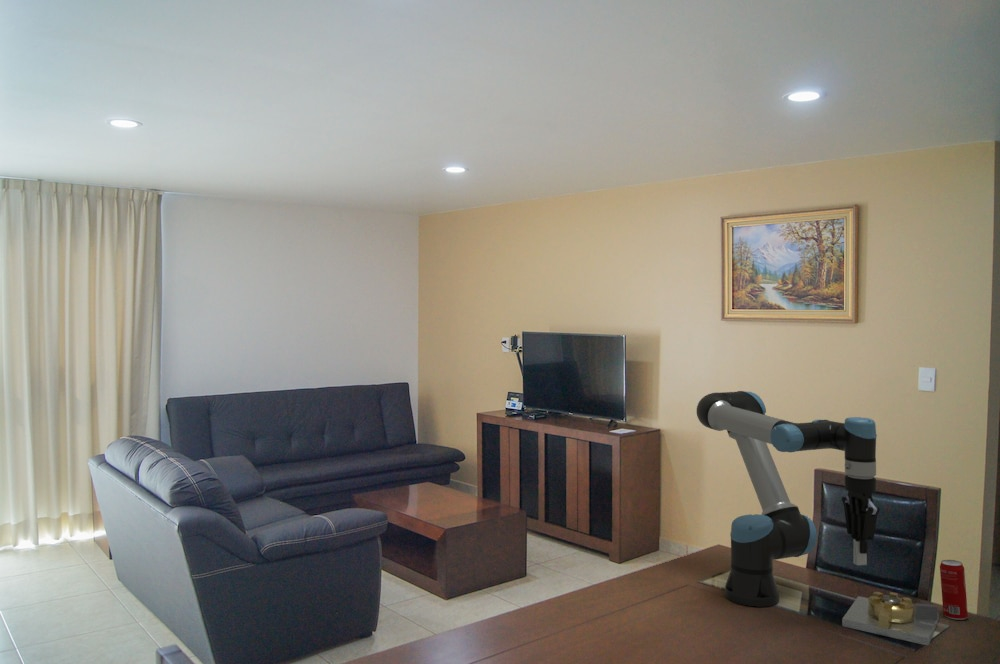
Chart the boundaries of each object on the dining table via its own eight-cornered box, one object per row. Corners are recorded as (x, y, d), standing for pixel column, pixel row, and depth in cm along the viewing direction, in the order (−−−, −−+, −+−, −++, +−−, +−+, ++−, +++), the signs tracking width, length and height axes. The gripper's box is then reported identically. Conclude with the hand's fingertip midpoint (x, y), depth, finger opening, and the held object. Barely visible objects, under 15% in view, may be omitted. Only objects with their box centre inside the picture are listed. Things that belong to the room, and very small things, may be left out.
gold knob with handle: (872, 603, 204) (872, 587, 204) (917, 612, 198) (917, 596, 198) (859, 622, 191) (859, 606, 191) (907, 633, 184) (907, 616, 184)
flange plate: (842, 626, 195) (842, 605, 195) (858, 603, 211) (858, 584, 211) (930, 646, 182) (930, 624, 182) (940, 620, 198) (940, 600, 198)
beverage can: (971, 621, 197) (971, 566, 197) (944, 619, 198) (945, 564, 198) (962, 613, 203) (962, 559, 203) (936, 611, 204) (936, 558, 204)
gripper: (832, 471, 201) (832, 556, 201) (862, 481, 188) (862, 573, 188) (857, 470, 202) (857, 555, 202) (889, 480, 189) (889, 571, 189)
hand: (860, 563), depth 195 cm, fingers closed
